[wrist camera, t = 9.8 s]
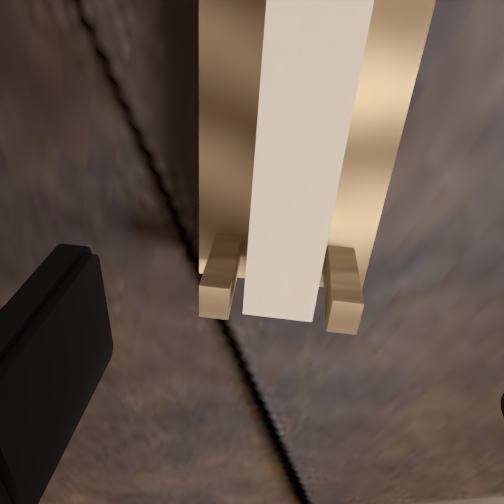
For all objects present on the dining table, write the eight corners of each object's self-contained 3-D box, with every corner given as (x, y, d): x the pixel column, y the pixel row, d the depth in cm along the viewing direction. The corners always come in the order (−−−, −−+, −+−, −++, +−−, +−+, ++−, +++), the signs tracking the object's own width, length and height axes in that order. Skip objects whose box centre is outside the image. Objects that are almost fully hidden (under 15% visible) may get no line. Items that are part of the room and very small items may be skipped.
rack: (203, -124, 18) (164, -158, 13) (456, -106, 17) (518, -134, 12) (202, 263, 28) (180, 328, 23) (359, 281, 28) (371, 351, 23)
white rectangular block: (280, -74, 18) (273, -85, 13) (368, -66, 17) (389, -76, 13) (252, 258, 26) (242, 313, 22) (310, 265, 26) (312, 322, 22)
